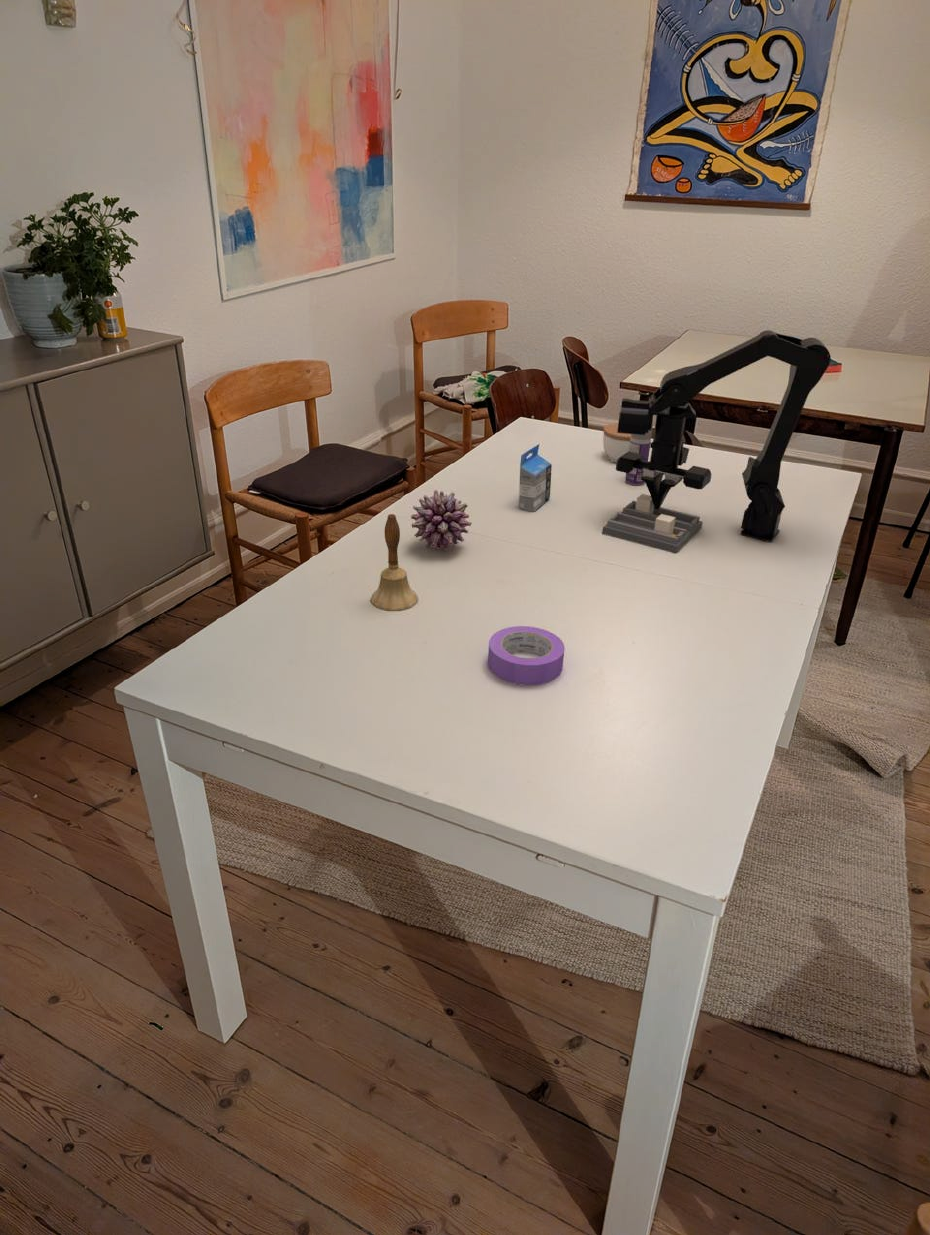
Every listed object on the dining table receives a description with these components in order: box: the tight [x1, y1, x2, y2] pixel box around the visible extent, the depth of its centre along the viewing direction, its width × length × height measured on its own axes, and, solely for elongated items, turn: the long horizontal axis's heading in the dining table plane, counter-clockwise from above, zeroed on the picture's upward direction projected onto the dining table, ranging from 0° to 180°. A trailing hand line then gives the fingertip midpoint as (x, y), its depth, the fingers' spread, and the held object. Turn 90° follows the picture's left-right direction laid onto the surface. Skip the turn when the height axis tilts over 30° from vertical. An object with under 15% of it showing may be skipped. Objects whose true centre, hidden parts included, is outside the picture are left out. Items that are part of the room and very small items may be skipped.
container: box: [624, 420, 654, 487], centre depth 202 cm, size 5×5×15 cm
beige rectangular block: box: [635, 493, 654, 514], centre depth 185 cm, size 3×3×4 cm
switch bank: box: [601, 500, 703, 554], centre depth 181 cm, size 16×15×3 cm
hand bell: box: [370, 513, 419, 612], centre depth 149 cm, size 8×8×16 cm
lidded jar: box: [602, 423, 631, 463], centre depth 217 cm, size 11×11×9 cm
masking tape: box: [487, 625, 566, 686], centre depth 135 cm, size 12×12×4 cm
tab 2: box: [654, 514, 676, 535], centre depth 176 cm, size 3×3×4 cm
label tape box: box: [518, 443, 553, 512], centre depth 190 cm, size 9×4×12 cm, turn 151°
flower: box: [410, 489, 473, 552], centre depth 169 cm, size 12×12×12 cm
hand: (657, 508), depth 184 cm, fingers closed
